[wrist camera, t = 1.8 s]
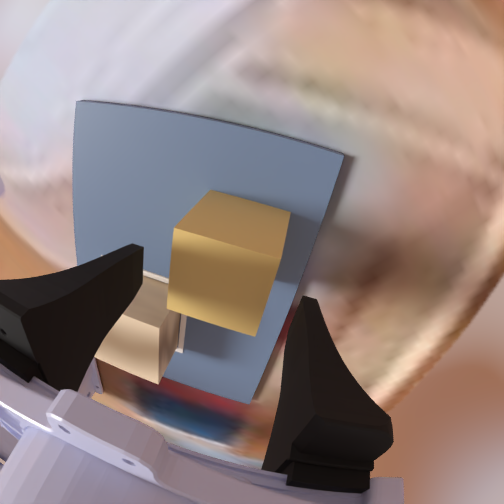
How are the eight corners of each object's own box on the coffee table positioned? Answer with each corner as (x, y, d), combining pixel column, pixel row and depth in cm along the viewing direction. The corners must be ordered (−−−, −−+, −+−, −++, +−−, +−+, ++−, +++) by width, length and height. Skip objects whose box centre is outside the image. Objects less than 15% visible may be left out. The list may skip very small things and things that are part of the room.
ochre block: (269, 279, 19) (255, 337, 15) (198, 258, 19) (166, 308, 15) (290, 212, 17) (280, 259, 12) (210, 189, 17) (174, 227, 13)
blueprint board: (250, 399, 26) (249, 405, 26) (93, 341, 27) (89, 346, 27) (343, 153, 15) (344, 156, 15) (82, 100, 16) (75, 101, 15)
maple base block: (177, 346, 24) (158, 384, 20) (111, 321, 24) (87, 353, 21) (183, 288, 21) (159, 328, 17) (107, 262, 21) (75, 294, 18)
